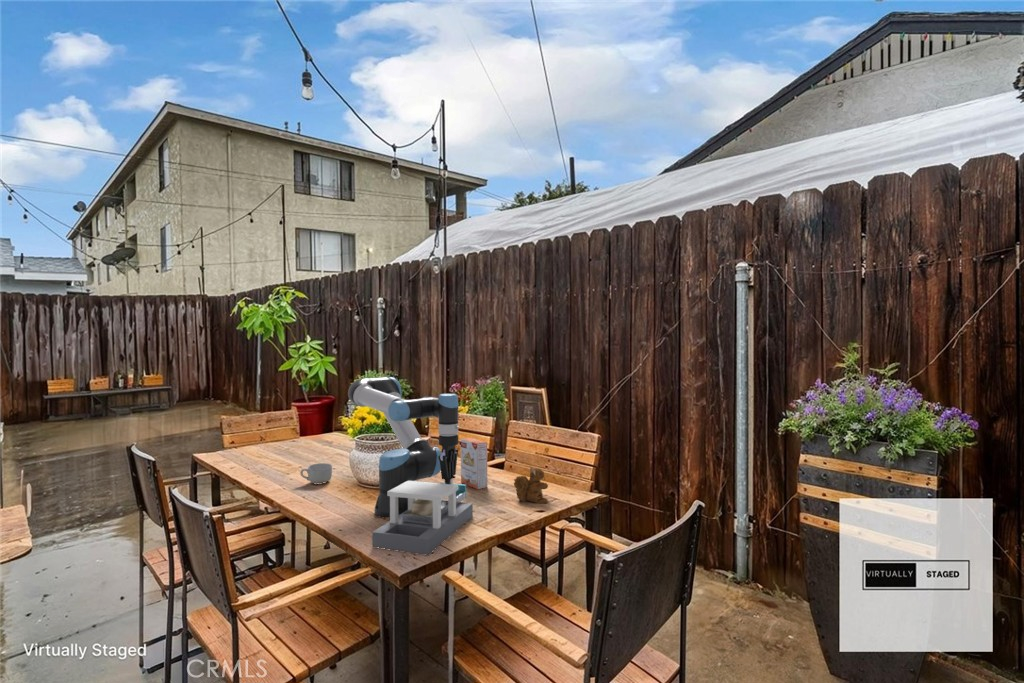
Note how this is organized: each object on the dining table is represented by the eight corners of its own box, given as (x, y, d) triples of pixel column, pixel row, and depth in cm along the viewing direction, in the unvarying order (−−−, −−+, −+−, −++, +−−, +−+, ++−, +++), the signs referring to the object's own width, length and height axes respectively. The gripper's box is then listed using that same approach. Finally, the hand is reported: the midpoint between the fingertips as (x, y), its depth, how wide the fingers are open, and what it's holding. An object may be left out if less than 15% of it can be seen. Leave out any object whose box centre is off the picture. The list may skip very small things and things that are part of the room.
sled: (402, 521, 171) (402, 506, 171) (441, 495, 200) (441, 482, 200) (430, 524, 168) (430, 509, 168) (466, 497, 197) (466, 484, 197)
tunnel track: (372, 547, 163) (372, 499, 162) (425, 511, 197) (424, 471, 197) (428, 555, 156) (428, 505, 156) (472, 516, 191) (472, 475, 191)
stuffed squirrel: (549, 503, 206) (549, 471, 206) (514, 504, 205) (514, 472, 205) (546, 496, 216) (546, 465, 216) (513, 496, 215) (513, 465, 215)
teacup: (332, 478, 244) (332, 462, 244) (332, 484, 234) (332, 467, 234) (300, 481, 239) (300, 464, 239) (299, 487, 229) (299, 470, 229)
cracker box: (460, 483, 235) (460, 438, 235) (471, 481, 239) (470, 436, 239) (476, 490, 224) (476, 443, 224) (487, 487, 228) (487, 441, 228)
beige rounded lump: (411, 520, 173) (411, 503, 173) (420, 514, 178) (420, 497, 178) (427, 522, 171) (427, 504, 171) (435, 516, 177) (435, 499, 177)
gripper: (450, 438, 187) (450, 501, 187) (464, 431, 199) (464, 491, 199) (431, 436, 189) (432, 499, 189) (447, 430, 201) (447, 490, 201)
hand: (448, 495), depth 194 cm, fingers closed
